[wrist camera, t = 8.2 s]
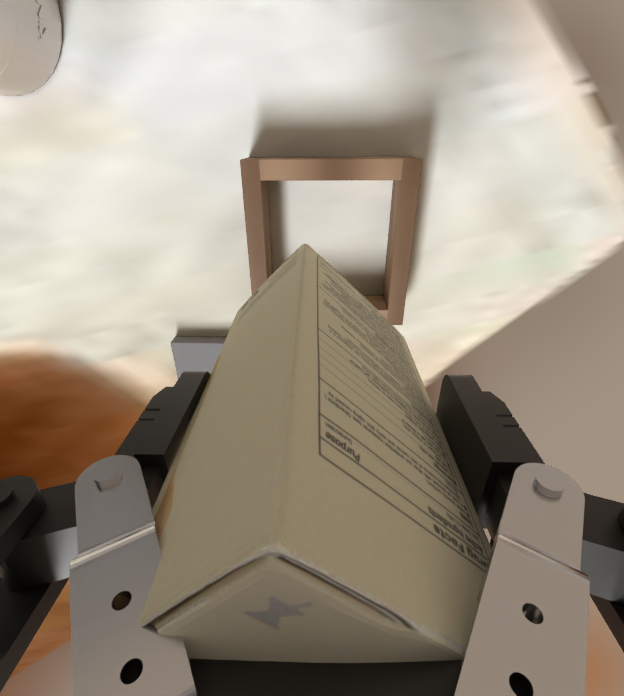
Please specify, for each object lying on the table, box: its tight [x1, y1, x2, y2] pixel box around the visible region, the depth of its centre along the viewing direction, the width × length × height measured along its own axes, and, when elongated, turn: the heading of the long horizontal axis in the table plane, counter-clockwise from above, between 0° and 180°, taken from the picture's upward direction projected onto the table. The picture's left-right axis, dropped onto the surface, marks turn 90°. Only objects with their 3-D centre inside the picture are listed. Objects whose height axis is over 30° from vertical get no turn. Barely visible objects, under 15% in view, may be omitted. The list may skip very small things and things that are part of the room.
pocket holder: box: [240, 157, 423, 325], centre depth 28 cm, size 11×11×3 cm
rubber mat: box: [171, 337, 226, 379], centre depth 36 cm, size 11×11×1 cm
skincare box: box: [139, 244, 491, 663], centre depth 11 cm, size 6×4×12 cm
